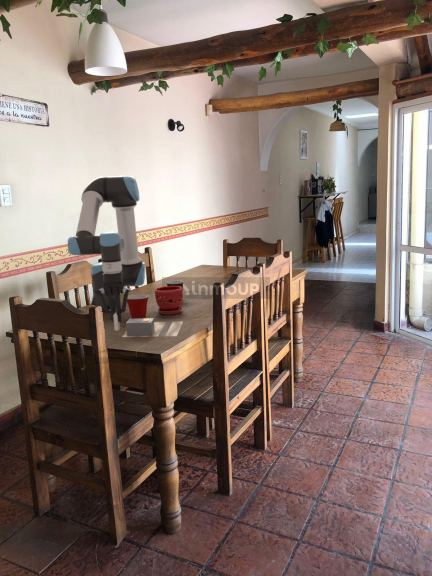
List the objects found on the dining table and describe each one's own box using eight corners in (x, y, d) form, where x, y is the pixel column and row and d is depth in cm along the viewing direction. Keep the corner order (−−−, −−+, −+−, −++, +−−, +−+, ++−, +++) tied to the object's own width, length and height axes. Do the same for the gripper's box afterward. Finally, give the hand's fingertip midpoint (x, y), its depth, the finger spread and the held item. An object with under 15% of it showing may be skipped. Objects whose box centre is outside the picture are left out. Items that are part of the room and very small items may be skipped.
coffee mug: (181, 302, 246) (180, 283, 244) (165, 302, 248) (164, 283, 245) (187, 297, 257) (186, 279, 255) (172, 297, 259) (171, 279, 256)
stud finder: (127, 336, 190) (125, 322, 189) (130, 331, 196) (129, 317, 195) (151, 335, 190) (150, 321, 188) (154, 331, 196) (153, 317, 194)
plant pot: (188, 310, 231) (187, 286, 228) (173, 317, 220) (171, 291, 217) (167, 307, 238) (165, 284, 235) (150, 314, 227) (148, 289, 224)
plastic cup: (152, 317, 221) (150, 292, 219) (149, 324, 211) (147, 297, 208) (128, 318, 221) (126, 293, 219) (125, 325, 211) (122, 298, 208)
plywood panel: (121, 340, 190) (121, 337, 189) (133, 325, 209) (132, 322, 209) (176, 339, 188) (176, 336, 188) (183, 324, 208) (183, 321, 208)
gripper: (93, 274, 185) (98, 332, 190) (126, 273, 184) (131, 332, 189) (99, 270, 192) (104, 327, 197) (131, 269, 191) (135, 326, 196)
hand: (117, 329), depth 193 cm, fingers closed
